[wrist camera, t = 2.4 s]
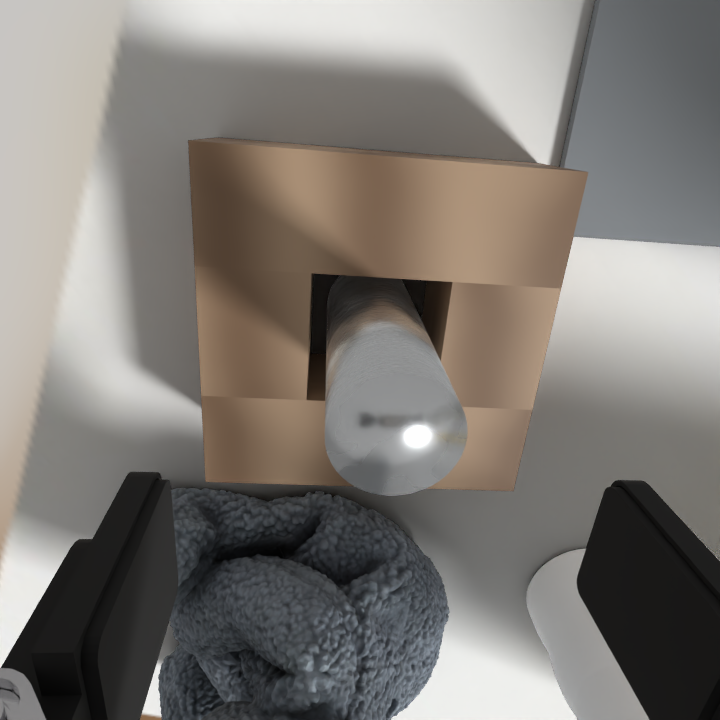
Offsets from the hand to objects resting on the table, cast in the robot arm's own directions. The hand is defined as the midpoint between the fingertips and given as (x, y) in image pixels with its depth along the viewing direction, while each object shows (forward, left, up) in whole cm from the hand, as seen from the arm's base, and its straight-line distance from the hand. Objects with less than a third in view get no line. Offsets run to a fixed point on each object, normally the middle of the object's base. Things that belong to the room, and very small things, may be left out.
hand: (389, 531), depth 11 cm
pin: (-1, 0, -16) cm, 16 cm away
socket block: (-1, 0, -16) cm, 16 cm away
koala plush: (+2, +18, -16) cm, 24 cm away
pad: (-14, -9, -16) cm, 23 cm away
